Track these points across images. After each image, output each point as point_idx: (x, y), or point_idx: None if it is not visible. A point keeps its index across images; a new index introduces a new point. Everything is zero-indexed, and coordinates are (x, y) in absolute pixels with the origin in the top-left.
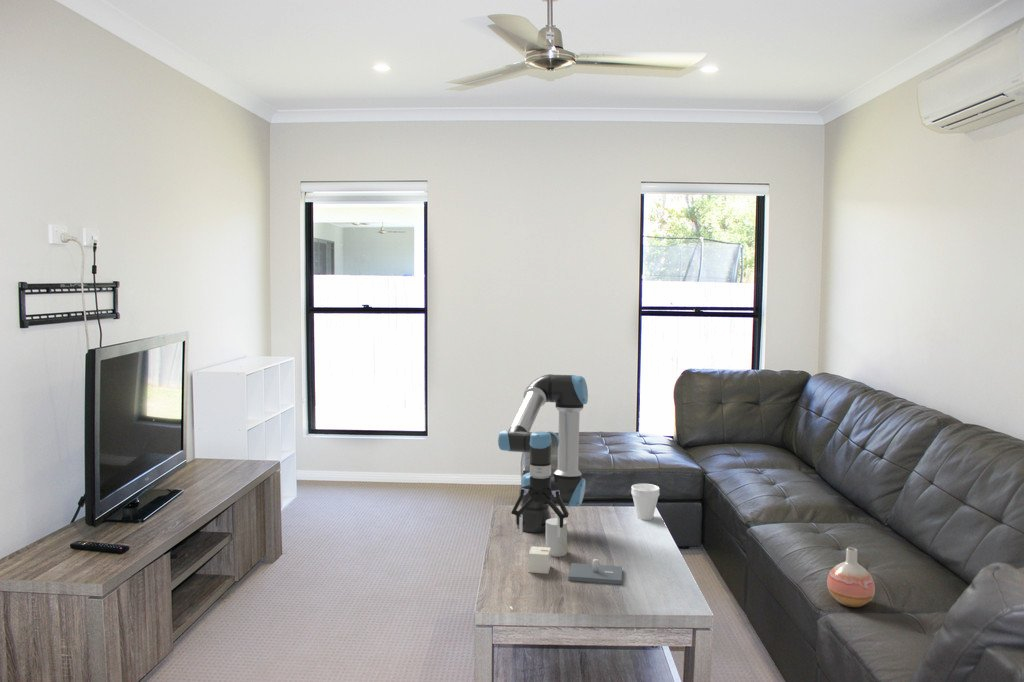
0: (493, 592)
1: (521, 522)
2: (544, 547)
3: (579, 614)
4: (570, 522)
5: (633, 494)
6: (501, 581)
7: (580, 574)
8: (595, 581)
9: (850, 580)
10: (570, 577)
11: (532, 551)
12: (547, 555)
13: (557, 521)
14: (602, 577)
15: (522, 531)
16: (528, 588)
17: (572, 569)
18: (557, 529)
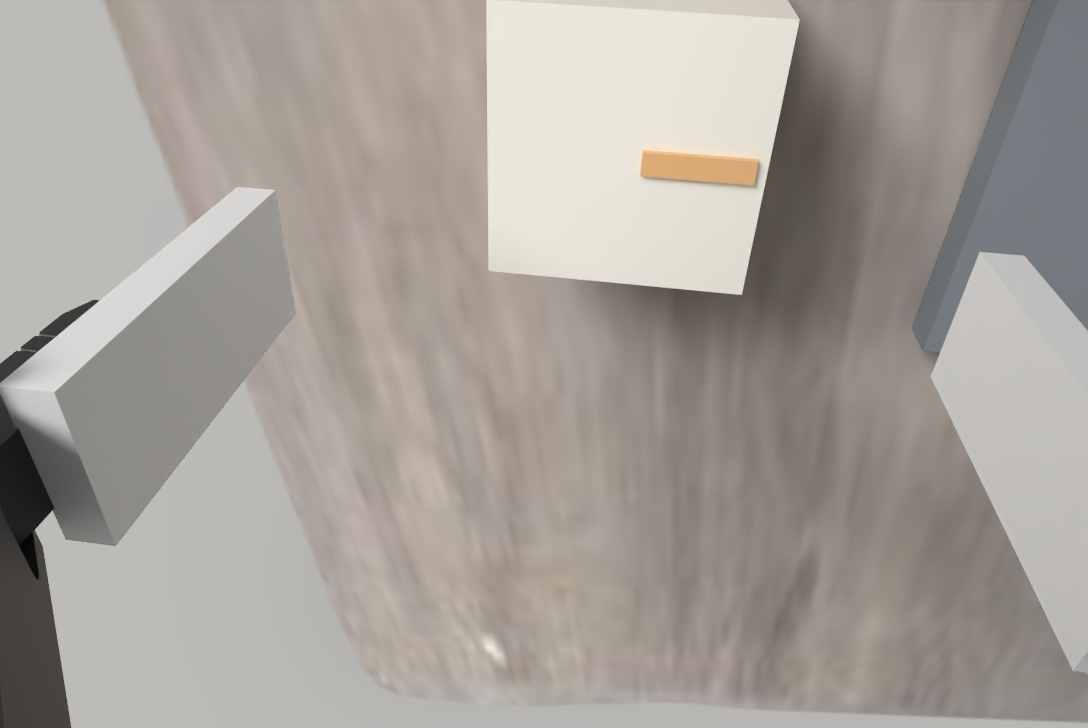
0: (341, 513)
1: (185, 441)
2: (694, 25)
3: (881, 714)
4: None
5: None
6: (337, 369)
7: (1068, 305)
8: None
9: None
10: (940, 347)
11: (527, 203)
12: (729, 287)
13: (1048, 618)
14: None
15: (266, 201)
16: (562, 462)
17: (1015, 188)
18: (980, 478)
